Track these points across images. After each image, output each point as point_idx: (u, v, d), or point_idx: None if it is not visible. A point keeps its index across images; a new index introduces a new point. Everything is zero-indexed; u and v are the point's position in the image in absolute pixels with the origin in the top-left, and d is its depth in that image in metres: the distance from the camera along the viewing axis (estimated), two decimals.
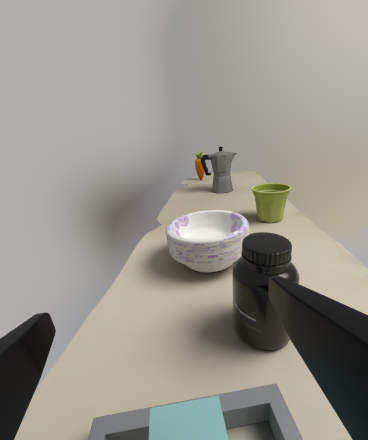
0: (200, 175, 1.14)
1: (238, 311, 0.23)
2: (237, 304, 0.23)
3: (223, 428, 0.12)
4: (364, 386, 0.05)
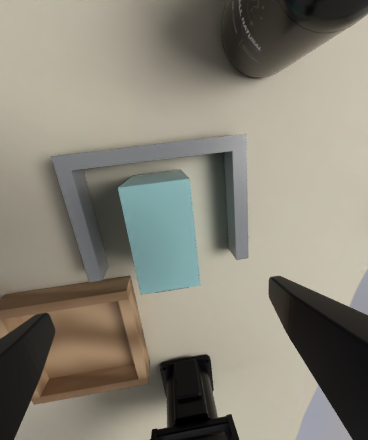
0: None
1: (239, 19, 0.13)
2: (243, 6, 0.12)
3: (190, 204, 0.14)
4: (364, 386, 0.05)
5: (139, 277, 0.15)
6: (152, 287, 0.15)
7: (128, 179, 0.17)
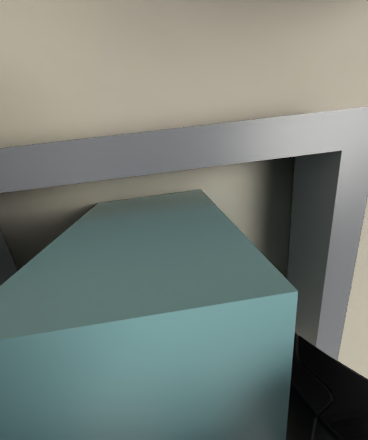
0: None
1: None
2: None
3: (281, 381, 0.03)
4: None
5: None
6: None
7: (70, 227, 0.06)
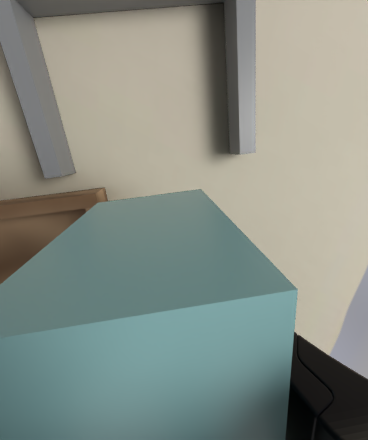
0: None
1: None
2: None
3: (280, 380, 0.03)
4: None
5: None
6: None
7: (69, 227, 0.06)
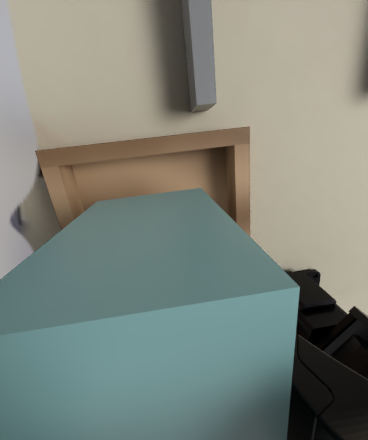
0: None
1: None
2: None
3: (282, 380, 0.03)
4: None
5: None
6: None
7: (68, 225, 0.06)
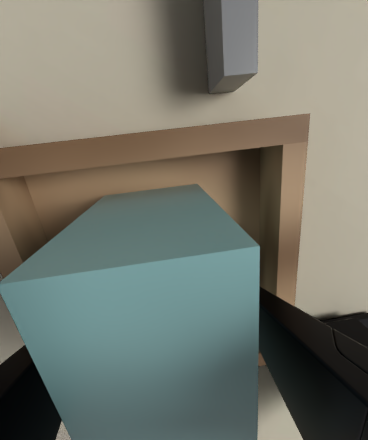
0: None
1: None
2: None
3: (251, 319, 0.04)
4: (314, 395, 0.05)
5: None
6: None
7: (83, 213, 0.07)
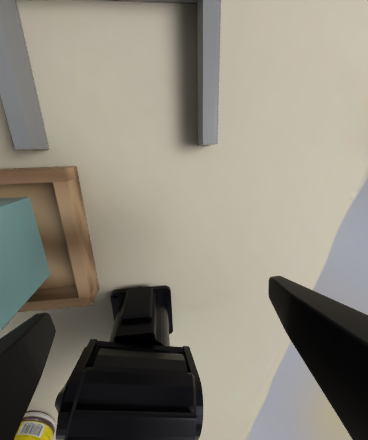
0: None
1: None
2: None
3: None
4: (364, 386, 0.05)
5: None
6: None
7: None
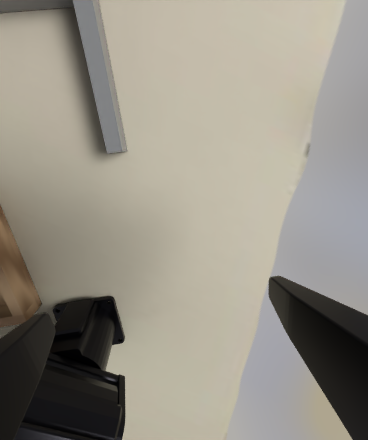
0: None
1: None
2: None
3: None
4: (364, 386, 0.05)
5: None
6: None
7: None
